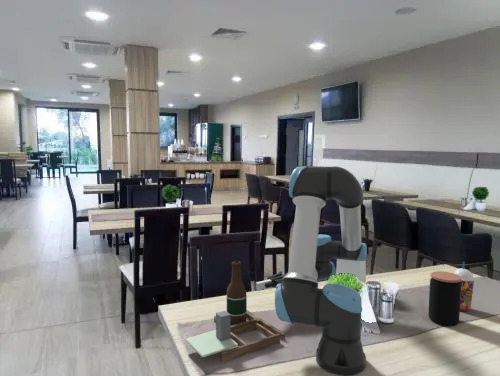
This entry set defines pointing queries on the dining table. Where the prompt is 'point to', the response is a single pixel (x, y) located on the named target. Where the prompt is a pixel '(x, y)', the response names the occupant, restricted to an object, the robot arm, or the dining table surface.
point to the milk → (352, 268)
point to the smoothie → (465, 288)
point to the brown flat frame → (244, 349)
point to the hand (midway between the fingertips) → (256, 286)
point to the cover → (214, 337)
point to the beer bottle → (236, 296)
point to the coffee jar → (444, 298)
